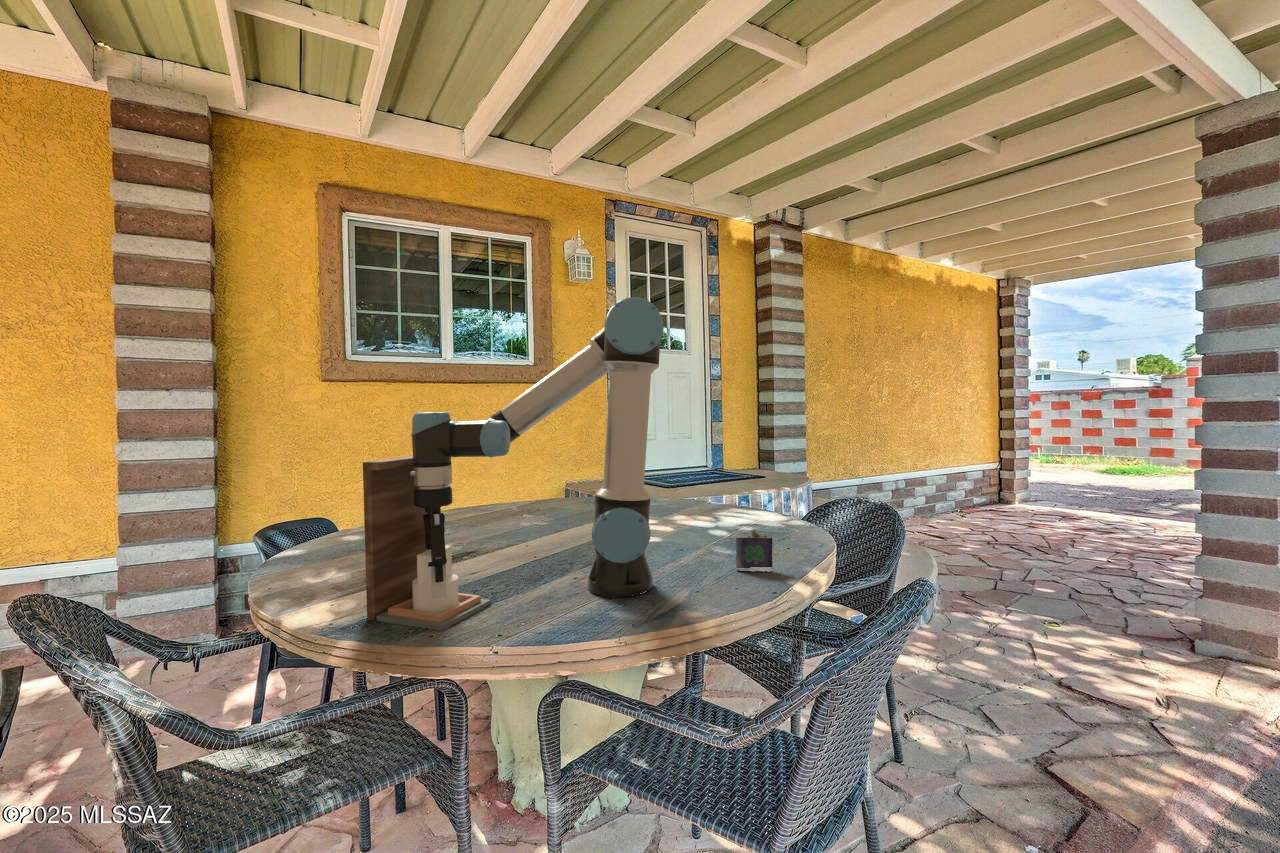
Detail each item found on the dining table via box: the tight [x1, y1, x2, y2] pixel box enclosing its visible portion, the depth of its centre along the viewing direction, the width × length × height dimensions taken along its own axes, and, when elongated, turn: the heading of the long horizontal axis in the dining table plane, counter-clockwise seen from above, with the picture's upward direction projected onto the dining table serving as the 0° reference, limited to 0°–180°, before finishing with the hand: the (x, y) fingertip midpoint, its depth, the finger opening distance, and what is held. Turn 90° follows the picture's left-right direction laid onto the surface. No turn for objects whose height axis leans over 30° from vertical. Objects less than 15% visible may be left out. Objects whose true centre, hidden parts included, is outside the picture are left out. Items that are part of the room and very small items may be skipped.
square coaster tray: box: [376, 592, 492, 632], centre depth 123 cm, size 16×16×2 cm
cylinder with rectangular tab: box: [412, 545, 459, 614], centre depth 123 cm, size 9×9×12 cm
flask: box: [735, 528, 773, 568], centre depth 151 cm, size 9×3×11 cm, turn 84°
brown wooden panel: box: [362, 455, 428, 621], centre depth 126 cm, size 4×16×32 cm, turn 159°
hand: (436, 587), depth 123 cm, fingers open, 13 cm apart
